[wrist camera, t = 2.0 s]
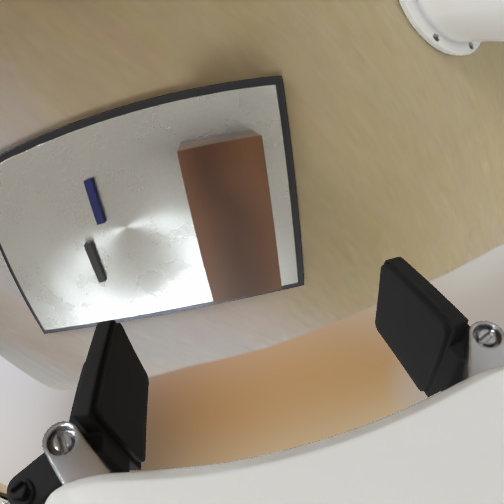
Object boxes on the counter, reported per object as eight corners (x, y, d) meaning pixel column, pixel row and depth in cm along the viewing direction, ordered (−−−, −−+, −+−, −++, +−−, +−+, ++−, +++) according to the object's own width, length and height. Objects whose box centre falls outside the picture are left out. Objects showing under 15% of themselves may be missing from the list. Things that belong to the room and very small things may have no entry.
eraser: (249, 128, 24) (262, 135, 19) (269, 259, 29) (282, 289, 25) (180, 141, 23) (176, 151, 19) (210, 271, 29) (213, 304, 25)
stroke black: (92, 241, 26) (90, 243, 25) (107, 278, 27) (106, 281, 27) (84, 243, 25) (83, 245, 25) (100, 280, 27) (98, 283, 27)
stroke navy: (93, 177, 23) (91, 179, 23) (106, 220, 25) (105, 223, 25) (85, 180, 23) (83, 181, 23) (98, 223, 25) (96, 225, 24)
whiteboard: (280, 75, 23) (283, 75, 22) (303, 282, 32) (305, 286, 31) (-26, 169, 20) (-30, 171, 20) (45, 331, 30) (43, 335, 29)
